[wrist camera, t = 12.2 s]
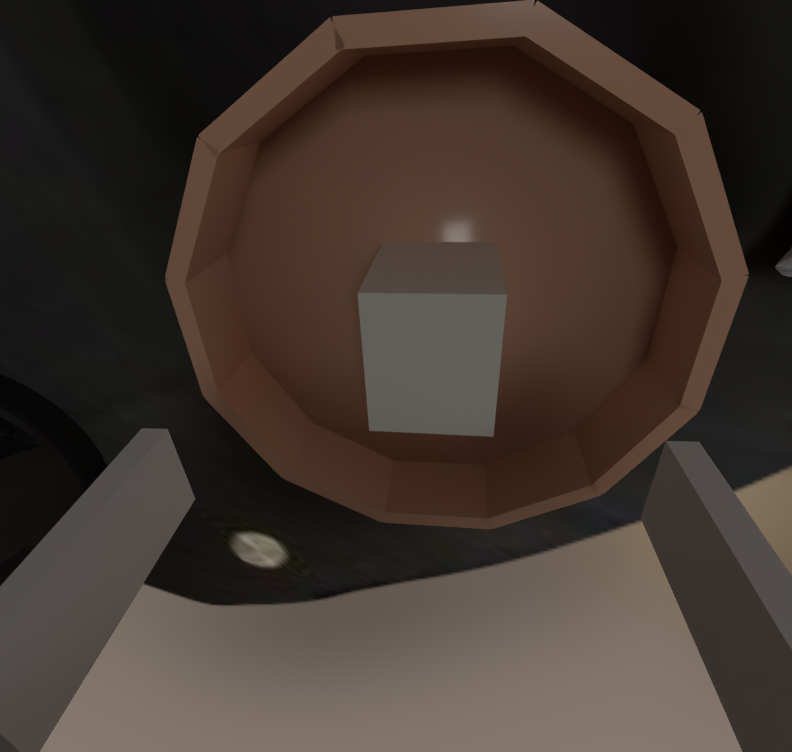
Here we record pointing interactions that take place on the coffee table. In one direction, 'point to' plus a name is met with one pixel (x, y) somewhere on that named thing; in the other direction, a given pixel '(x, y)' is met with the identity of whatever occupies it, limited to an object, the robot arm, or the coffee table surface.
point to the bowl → (458, 222)
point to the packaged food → (785, 264)
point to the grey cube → (433, 337)
